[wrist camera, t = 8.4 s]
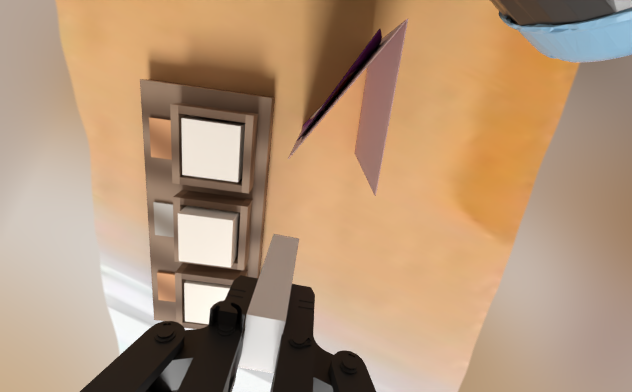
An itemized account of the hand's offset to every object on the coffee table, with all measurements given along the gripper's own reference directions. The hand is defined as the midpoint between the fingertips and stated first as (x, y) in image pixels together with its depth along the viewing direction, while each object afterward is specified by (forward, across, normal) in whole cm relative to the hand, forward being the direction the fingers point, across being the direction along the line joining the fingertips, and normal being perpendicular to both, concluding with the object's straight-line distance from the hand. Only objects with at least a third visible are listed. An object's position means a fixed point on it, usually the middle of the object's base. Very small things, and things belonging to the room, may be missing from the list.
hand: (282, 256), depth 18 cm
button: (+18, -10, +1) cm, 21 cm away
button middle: (+17, -9, -9) cm, 21 cm away
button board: (+20, -11, -9) cm, 25 cm away
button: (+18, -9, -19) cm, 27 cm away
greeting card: (+21, +4, +8) cm, 22 cm away
